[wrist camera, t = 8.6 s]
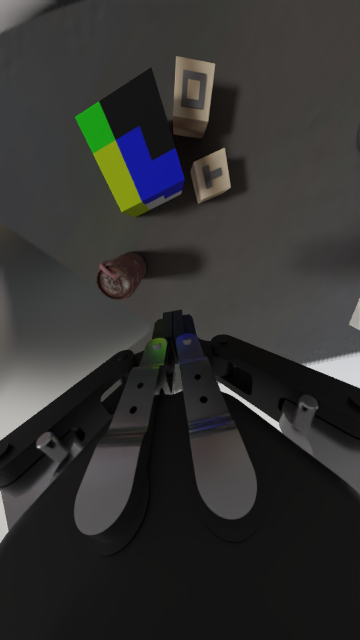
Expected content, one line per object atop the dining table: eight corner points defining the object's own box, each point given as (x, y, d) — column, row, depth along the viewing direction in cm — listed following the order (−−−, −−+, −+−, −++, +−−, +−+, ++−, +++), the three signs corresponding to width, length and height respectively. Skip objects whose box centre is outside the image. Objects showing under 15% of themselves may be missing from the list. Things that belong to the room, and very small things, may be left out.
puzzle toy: (181, 194, 31) (184, 179, 22) (135, 217, 32) (121, 212, 23) (158, 122, 26) (151, 67, 17) (105, 153, 27) (74, 117, 19)
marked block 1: (207, 93, 25) (215, 62, 20) (202, 139, 27) (208, 120, 22) (175, 87, 24) (176, 54, 20) (173, 134, 27) (173, 114, 22)
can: (131, 244, 34) (109, 251, 22) (152, 267, 37) (142, 285, 25) (113, 263, 36) (83, 280, 24) (135, 284, 39) (117, 308, 26)
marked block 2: (216, 160, 28) (225, 147, 24) (222, 193, 31) (231, 187, 26) (190, 172, 29) (193, 161, 25) (197, 204, 31) (202, 199, 27)
